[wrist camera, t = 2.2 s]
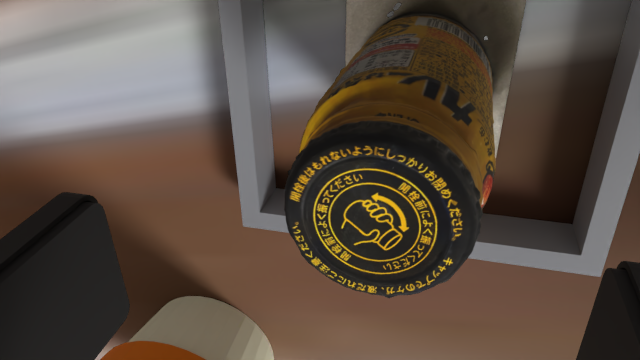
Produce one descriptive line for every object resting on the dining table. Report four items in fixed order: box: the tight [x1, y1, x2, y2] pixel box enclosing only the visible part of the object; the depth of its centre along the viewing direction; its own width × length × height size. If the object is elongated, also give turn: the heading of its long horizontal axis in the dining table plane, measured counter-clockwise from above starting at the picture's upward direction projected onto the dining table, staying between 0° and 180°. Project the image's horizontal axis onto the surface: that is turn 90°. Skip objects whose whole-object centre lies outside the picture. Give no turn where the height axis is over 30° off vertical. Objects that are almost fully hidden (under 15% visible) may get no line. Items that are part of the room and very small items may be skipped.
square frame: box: [218, 0, 640, 277], centre depth 22 cm, size 17×17×2 cm
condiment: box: [284, 0, 526, 298], centre depth 18 cm, size 7×8×12 cm
